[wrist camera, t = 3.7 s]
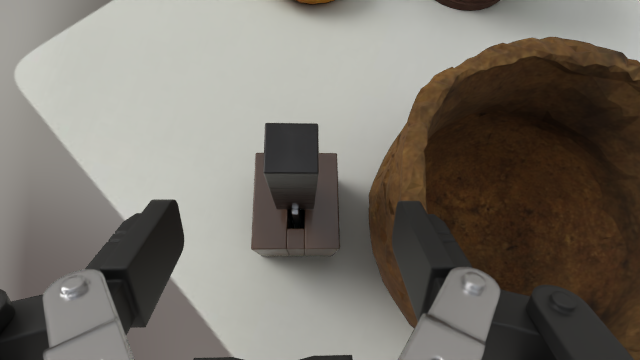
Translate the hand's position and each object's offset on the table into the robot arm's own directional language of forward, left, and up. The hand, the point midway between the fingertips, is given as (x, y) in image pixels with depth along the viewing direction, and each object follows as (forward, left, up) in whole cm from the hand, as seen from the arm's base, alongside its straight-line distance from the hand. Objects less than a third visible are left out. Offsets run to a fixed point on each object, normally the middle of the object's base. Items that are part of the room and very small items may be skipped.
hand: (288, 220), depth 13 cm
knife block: (-2, +3, -17) cm, 17 cm away
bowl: (+10, +10, -17) cm, 22 cm away
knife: (-2, +3, -17) cm, 17 cm away
